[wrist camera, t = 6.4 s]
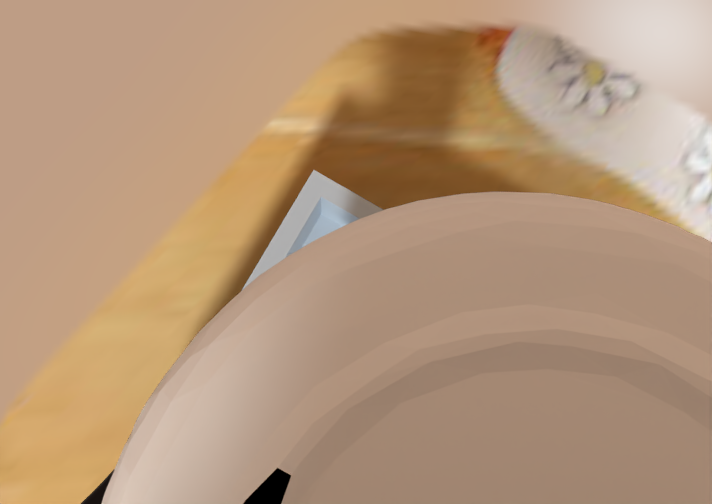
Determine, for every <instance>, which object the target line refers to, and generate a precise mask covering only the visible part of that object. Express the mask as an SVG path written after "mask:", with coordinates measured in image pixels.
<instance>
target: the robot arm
mask: <svg viewBox="0 0 712 504" xmlns="http://www.w3.org/2000/svg"><path fill="white" fill-rule="evenodd" d="M114 470H115V469H114ZM114 470H113V471H112V472H111V473H110V474H109V475H108V477H107V478H106V479H105V480H104V481H103V482H102V483H101V484H100V485H99V486H98V487H97V488H96V489H95V490H94V491H93V492H92V493H91V494H90V495H89V496H88V497H87V498H86V499H85V500H84V501H83V502H82V503H81V504H101V503H102V500H103V497H104V494H105V491H106V489H107V486H108V484H109V482H110V479H111V477H112V474H113V472H114Z"/></svg>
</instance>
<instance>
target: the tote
mask: <svg viewBox="0 0 712 504" xmlns="http://www.w3.org/2000/svg"><path fill="white" fill-rule="evenodd" d="M380 211H383V209H381V208H380V207H378V206H376V205H374V204H373V203H371V202H369V201H368V200H366V199H364V198H362V197H361V196H359V195H357V194H355V193H354V192H352V191H350V190H348V189H347V188H345V187H343V186H341V185H340V184H338V183H336V182H334V181H333V180H331V179H329V178H327V177H326V176H324V175H322V174H320V173H319V172H317V171H315V170H313V172H312V173H311V175H310V177H309V178H308V180H307V182H306V183H305V185H304V187H303V188H302V190H301V192H300V193H299V195H298V197H297V198H296V200H295V202H294V203H293V205H292V207H291V208H290V210H289V212H288V213H287V215H286V217H285V218H284V220H283V222H282V224H281V225H280V227H279V229H278V230H277V232H276V234H275V235H274V237H273V239H272V240H271V242H270V244H269V245H268V247H267V249H266V250H265V252H264V254H263V255H262V257H261V259H260V260H259V262H258V264H257V265H256V267H255V269H254V270H253V272H252V274H251V275H250V277H249V279H248V280H247V282H246V284H245V285H244V287H243V289H244V288H245V287H247V286H248V285H249V284H250V283H251V282H252V281H253V280H255V279H256V278H257V277H258V276H259V275H261V274H262V273H264V272H265V271H267V270H268V269H270V268H271V267H273V266H274V265H276V264H277V263H279V262H280V261H282V260H283V259H285V258H286V257H287V256H289V255H290V254H292V253H294V252H296V251H297V250H299V249H301V248H302V247H304V246H306V245H308V244H309V243H311V242H313V241H315V240H316V239H318V238H320V237H322V236H324V235H326V234H329V233H331V232H333V231H335V230H337V229H339V228H341V227H343V226H345V225H347V224H349V223H352V222H354V221H356V220H358V219H361V218H364V217H366V216H369V215H372V214H374V213H377V212H380ZM243 289H242V290H243Z"/></svg>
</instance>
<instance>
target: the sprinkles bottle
mask: <svg viewBox="0 0 712 504" xmlns="http://www.w3.org/2000/svg"><path fill="white" fill-rule="evenodd" d="M101 504H712V242H710V241H708V240H706V239H704V238H702V237H700V236H697V235H694V234H692V233H689V232H687V231H685V230H683V229H682V228H680V227H678V226H675V225H673V224H670V223H667V222H664V221H662V220H659V219H656V218H654V217H651V216H648V215H646V214H643V213H640V212H636V211H633V210H629V209H626V208H623V207H619V206H616V205H612V204H609V203H604V202H600V201H595V200H591V199H585V198H578V197H572V196H565V195H559V194H553V193H530V192H480V193H465V194H457V195H450V196H444V197H438V198H432V199H425V200H419V201H415V202H411V203H407V204H404V205H400V206H396V207H392V208H389V209H385V210H383V211H380V212H377V213H374V214H372V215H369V216H366V217H364V218H361V219H358V220H356V221H354V222H352V223H349V224H347V225H345V226H343V227H341V228H339V229H337V230H335V231H333V232H331V233H329V234H326V235H324V236H322V237H320V238H318V239H316V240H315V241H313V242H311V243H309V244H308V245H306V246H304V247H302V248H301V249H299V250H297V251H296V252H294V253H292V254H290V255H289V256H287V257H286V258H285V259H283V260H282V261H280V262H279V263H277V264H276V265H274V266H273V267H271V268H270V269H268V270H267V271H265V272H264V273H262V274H261V275H259V276H258V277H257V278H256V279H255V280H253V281H252V282H251V283H250V284H249V285H248V286H247V287H245V288H244V289H243V290H242V291H241V292H240V293H239V294H238V295H236V296H235V297H234V298H233V299H232V300H231V301H230V302H229V303H228V304H227V305H226V306H225V307H223V308H222V309H221V310H220V311H219V312H218V313H217V314H216V315H215V316H214V317H213V318H212V319H211V320H210V321H209V322H208V323H207V324H206V325H205V326H204V327H203V328H202V329H201V330H200V331H199V333H198V334H197V335H196V336H195V338H194V339H193V340H192V341H191V343H190V344H189V345H188V347H187V348H186V349H185V350H184V352H183V353H182V354H181V355H180V357H179V358H178V359H177V360H176V362H175V363H174V364H173V366H172V367H171V368H170V369H169V371H168V372H167V373H166V374H165V376H164V377H163V379H162V380H161V382H160V383H159V385H158V386H157V388H156V389H155V390H154V392H153V393H152V395H151V396H150V398H149V399H148V401H147V402H146V404H145V406H144V408H143V409H142V411H141V413H140V415H139V417H138V418H137V420H136V423H135V425H134V428H133V430H132V433H131V435H130V437H129V438H128V440H127V442H126V444H125V446H124V448H123V451H122V453H121V455H120V458H119V460H118V463H117V465H116V467H115V470H114V472H113V474H112V477H111V479H110V482H109V484H108V486H107V489H106V491H105V494H104V497H103V500H102V503H101Z"/></svg>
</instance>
